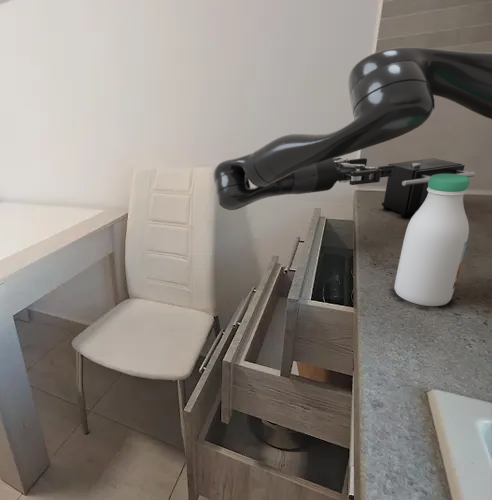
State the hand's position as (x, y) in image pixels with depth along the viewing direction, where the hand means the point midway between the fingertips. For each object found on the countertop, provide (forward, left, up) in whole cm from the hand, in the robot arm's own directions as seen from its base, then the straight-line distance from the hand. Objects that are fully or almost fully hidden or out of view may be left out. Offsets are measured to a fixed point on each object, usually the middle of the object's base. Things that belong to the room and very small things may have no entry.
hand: (378, 166), depth 80 cm
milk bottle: (0, +28, -15) cm, 32 cm away
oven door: (-14, -7, -13) cm, 20 cm away
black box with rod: (-14, -14, -15) cm, 25 cm away
